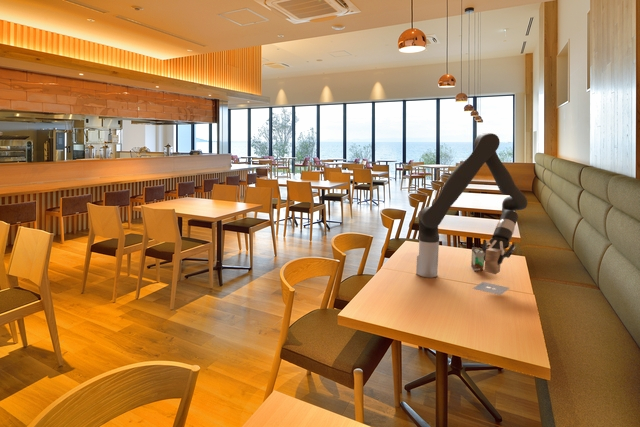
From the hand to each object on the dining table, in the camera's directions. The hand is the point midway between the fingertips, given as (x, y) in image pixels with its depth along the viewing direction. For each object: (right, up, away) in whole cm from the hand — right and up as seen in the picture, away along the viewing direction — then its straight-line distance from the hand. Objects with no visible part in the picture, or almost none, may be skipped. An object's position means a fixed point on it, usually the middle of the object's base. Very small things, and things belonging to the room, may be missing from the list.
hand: (492, 262), depth 178 cm
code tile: (+1, -12, +3) cm, 12 cm away
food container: (+6, -7, +30) cm, 32 cm away
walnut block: (+1, -4, +2) cm, 5 cm away
